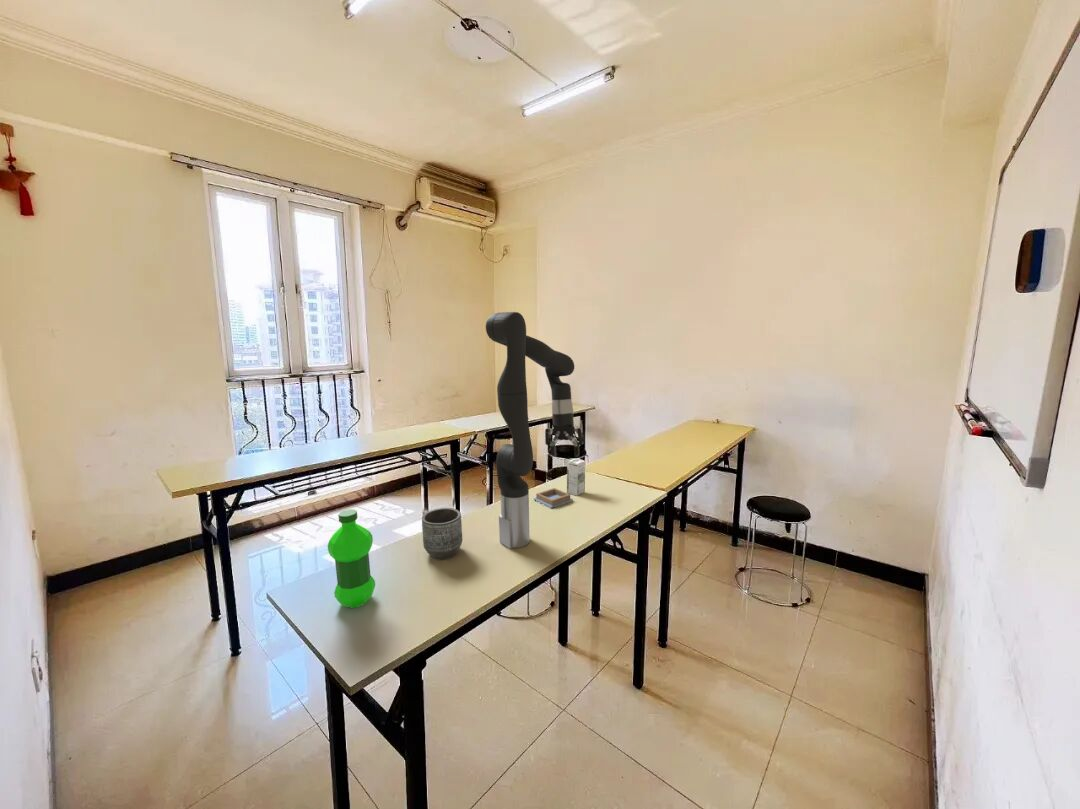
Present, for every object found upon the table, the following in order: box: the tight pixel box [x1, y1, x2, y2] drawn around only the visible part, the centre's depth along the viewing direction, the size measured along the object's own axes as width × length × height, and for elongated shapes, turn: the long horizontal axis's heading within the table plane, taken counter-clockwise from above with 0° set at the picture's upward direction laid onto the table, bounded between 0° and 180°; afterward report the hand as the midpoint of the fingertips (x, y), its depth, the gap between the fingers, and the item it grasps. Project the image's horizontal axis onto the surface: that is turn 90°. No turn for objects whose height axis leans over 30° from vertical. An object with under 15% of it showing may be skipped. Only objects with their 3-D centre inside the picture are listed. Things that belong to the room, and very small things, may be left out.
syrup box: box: [566, 458, 586, 497], centre depth 183 cm, size 6×6×14 cm
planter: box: [421, 507, 463, 561], centre depth 135 cm, size 12×12×13 cm
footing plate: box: [533, 487, 574, 509], centre depth 176 cm, size 12×11×3 cm
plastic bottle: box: [327, 508, 376, 609], centre depth 110 cm, size 10×10×25 cm
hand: (565, 456), depth 154 cm, fingers open, 8 cm apart
